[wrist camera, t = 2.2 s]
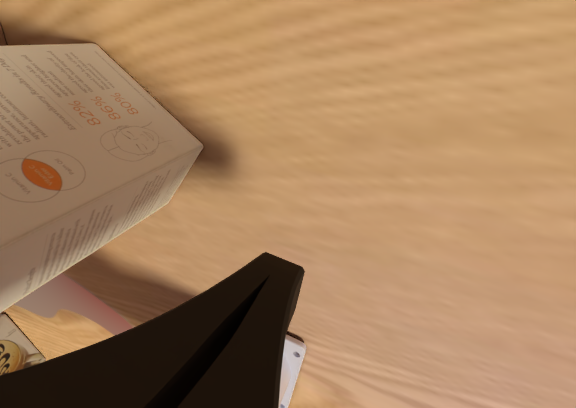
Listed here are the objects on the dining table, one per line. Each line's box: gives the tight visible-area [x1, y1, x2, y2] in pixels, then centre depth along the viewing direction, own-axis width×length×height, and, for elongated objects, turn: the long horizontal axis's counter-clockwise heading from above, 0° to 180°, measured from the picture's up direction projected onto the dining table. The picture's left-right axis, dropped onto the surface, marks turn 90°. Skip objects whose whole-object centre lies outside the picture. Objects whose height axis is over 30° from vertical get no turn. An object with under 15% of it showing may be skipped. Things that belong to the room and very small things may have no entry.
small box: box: [0, 43, 203, 313], centre depth 14 cm, size 8×6×10 cm
